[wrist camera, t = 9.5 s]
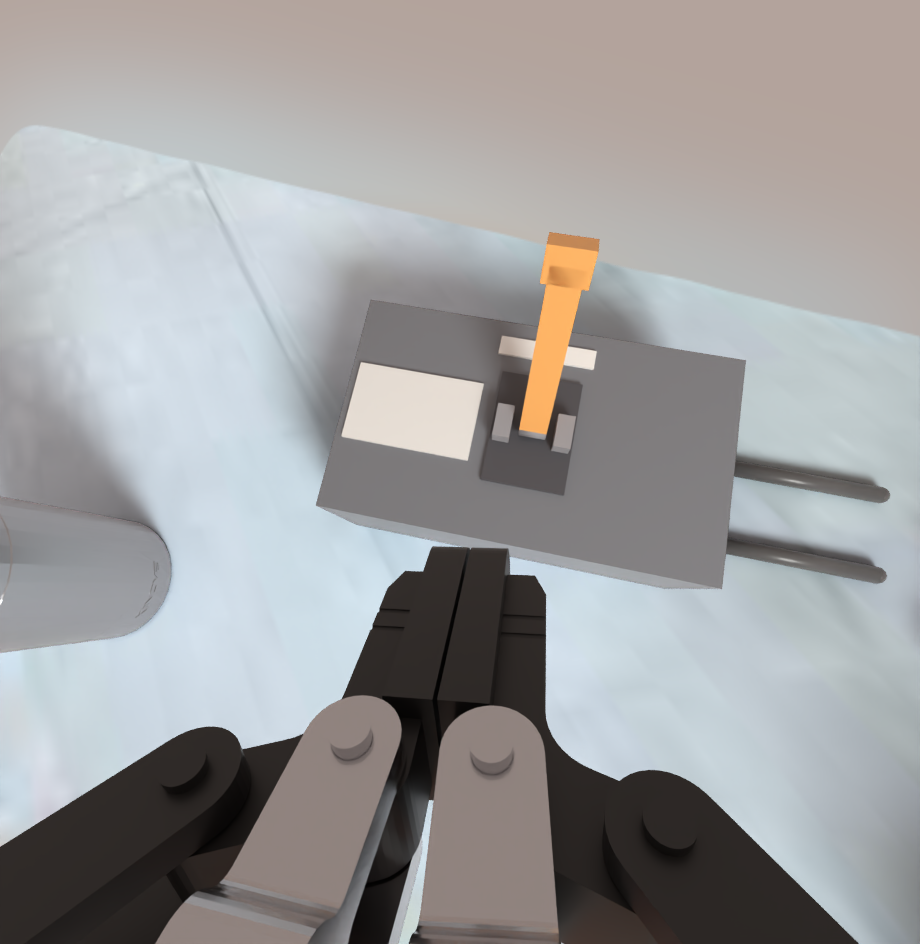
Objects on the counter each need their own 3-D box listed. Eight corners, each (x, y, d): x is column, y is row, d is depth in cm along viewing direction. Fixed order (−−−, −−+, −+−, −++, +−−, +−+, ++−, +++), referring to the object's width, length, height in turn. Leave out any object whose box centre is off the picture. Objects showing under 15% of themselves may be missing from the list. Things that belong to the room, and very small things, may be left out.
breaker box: (357, 524, 41) (307, 501, 30) (397, 363, 44) (365, 287, 33) (876, 632, 37) (1039, 651, 26) (884, 447, 40) (1034, 394, 29)
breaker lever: (512, 438, 31) (546, 244, 22) (515, 424, 32) (549, 232, 23) (549, 445, 31) (598, 251, 22) (551, 431, 32) (599, 239, 23)
